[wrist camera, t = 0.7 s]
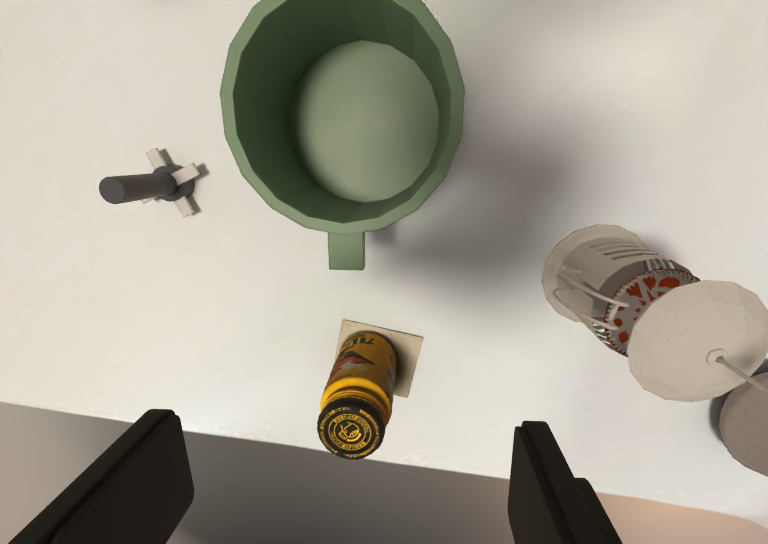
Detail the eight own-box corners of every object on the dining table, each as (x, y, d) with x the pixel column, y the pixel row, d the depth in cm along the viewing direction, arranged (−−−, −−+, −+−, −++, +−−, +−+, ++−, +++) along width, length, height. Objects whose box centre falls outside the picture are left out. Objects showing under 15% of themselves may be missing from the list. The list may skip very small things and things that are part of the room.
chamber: (290, 236, 37) (239, 270, 26) (274, -4, 32) (199, -88, 21) (442, 239, 36) (453, 276, 25) (454, -9, 30) (476, -99, 20)
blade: (132, 165, 37) (53, 168, 29) (186, 135, 35) (119, 129, 27) (169, 226, 38) (103, 245, 30) (222, 199, 37) (169, 212, 29)
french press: (623, 334, 38) (979, 644, 14) (509, 303, 38) (669, 560, 14) (671, 240, 35) (1227, 427, 11) (547, 206, 35) (833, 321, 11)
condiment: (342, 319, 40) (313, 386, 28) (423, 336, 40) (426, 411, 28) (331, 379, 42) (300, 463, 30) (407, 396, 42) (404, 487, 30)
